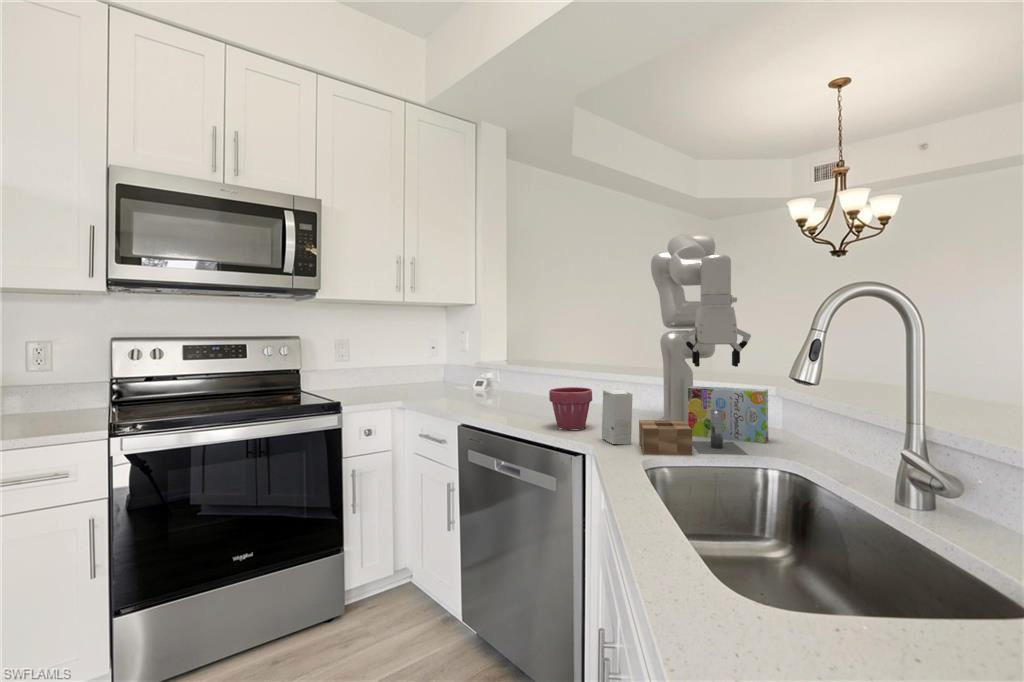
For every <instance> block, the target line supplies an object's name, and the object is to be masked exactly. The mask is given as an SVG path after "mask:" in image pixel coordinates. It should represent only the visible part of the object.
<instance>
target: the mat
mask: <svg viewBox="0 0 1024 682" xmlns="http://www.w3.org/2000/svg"><path fill="white" fill-rule="evenodd" d="M692 448H693V449H695V451H696V452H697V453H698V455H731V456H732V455H735V456H736V455H737V456H739V455H740V456H741V455H742V456H745V455H746V456H749V453H747V452H746V451H745V450H744V449H742V448H741V447H740V446H739V445H737V444H736V442H733V441H723V448H722V449H714V448H711V440H710V441H708V440H706V441H704V440H703V441H701V440H696V441H695V440H692Z"/></svg>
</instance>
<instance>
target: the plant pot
mask: <svg viewBox="0 0 1024 682" xmlns="http://www.w3.org/2000/svg"><path fill="white" fill-rule="evenodd" d="M548 395H549V396H548V397H549V398H548V399H549V402H551V404H552V408H553V414H554V417H555V422H556V425H557V428H558V427H559V428H562V429H581V430H584V429H586V424H587V419H588V415H589V409H590V405H591V404H590V403H591V402H593V390H592V389H591V388H589V387H588V388H587V387H577V386H576V387H574V386H572V387H569V386H567V387H557V388H552V389H549V393H548ZM559 428H558V429H559ZM583 428H584V429H583ZM562 429H561V430H562Z"/></svg>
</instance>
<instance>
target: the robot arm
mask: <svg viewBox="0 0 1024 682" xmlns="http://www.w3.org/2000/svg"><path fill="white" fill-rule="evenodd" d="M715 251H716V243H715V238H713V237H712V236H711V235H710V234H706V233H694V234H691V233H688V234H677V235H675V236H673V237H672V238H671V239H670V240H669V241H668V244H667V250H666V251H660V252H658V253H655V254H654V255H653V256H652V258H651V261H650V272H651V275H652V276H651V277H652V280H653V282H654V285H655V287H656V290H657V291H658V297H659V305H660V306H659V307H660V313H661V320H662V324H663V326H664V327H665V328H667V329H672V330H670V331H667V332H664V333H663V334H662V335H661V337H660V350H661V357H662V365H663V367H662V368H663V370H662V371H663V373H662V374H663V417H660V418H659V419H658V420H678V421H684V422H685V423H686V424H687V425H688V388H689V387H692V386H694V373H693V369H692V367H691V366H690V365H689V364H688V362H687V361H686V360H689V359H692V360H691V362H692V364H694V367H697V368H699V367H700V359H708V358H712V357H713V356H714V354H715V352H716V345H729V346H730V347H731V348H732V349H733V350H732V351H731V366H733V367H735V368H736V367H739V364H740V363H741V351H742V350H743V349H744V348H745V347H746V346H747V345H748V343H749V341H750V340H751V337H752V335H751V333H749V332H746V331H744V330H743V329H742V330H741V329H739V328H738V325H737V324H738V323H737V317H736V310H735V308H734V306H732V305H733V304H734V303H737V302H738V297H736V296H733V294H732V260H731V257H730V256H729V255H726V254H715V253H716V252H715ZM683 286H687V287H689V286H700V301H699V300H696V301H694V300H693V301H691V300H690V301H688V300H687V299H686V296H685V290H684V287H683ZM738 336H741V337H742V340H741V341H740V342H739V343H738Z"/></svg>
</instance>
